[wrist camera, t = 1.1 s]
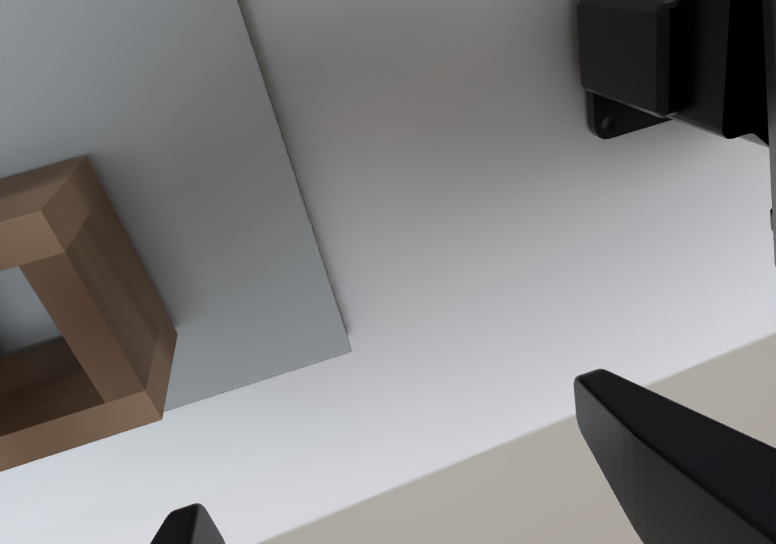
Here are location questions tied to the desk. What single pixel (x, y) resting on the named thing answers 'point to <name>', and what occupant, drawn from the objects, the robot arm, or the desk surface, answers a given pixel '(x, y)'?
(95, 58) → the jig
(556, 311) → the desk surface
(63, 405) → the socket block
